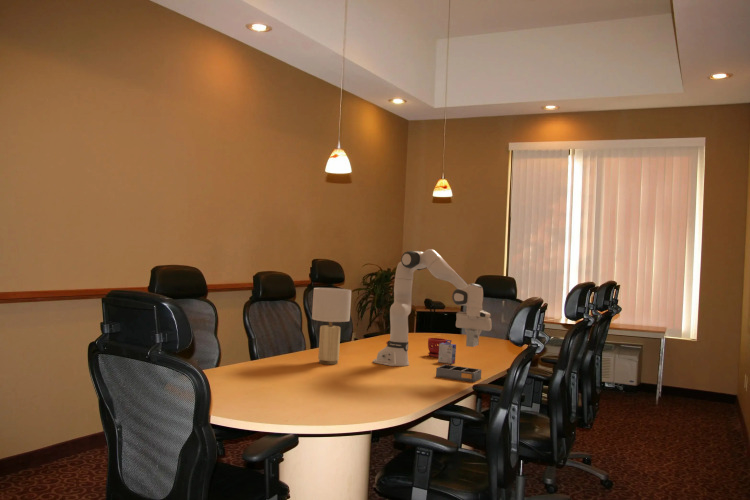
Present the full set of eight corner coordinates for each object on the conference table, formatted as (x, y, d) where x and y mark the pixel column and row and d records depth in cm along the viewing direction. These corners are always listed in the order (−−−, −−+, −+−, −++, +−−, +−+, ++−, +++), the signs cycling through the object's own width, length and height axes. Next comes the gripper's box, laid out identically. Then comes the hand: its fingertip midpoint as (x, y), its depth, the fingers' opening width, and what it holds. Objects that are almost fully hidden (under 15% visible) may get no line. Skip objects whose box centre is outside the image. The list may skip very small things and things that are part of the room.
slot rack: (435, 376, 353) (436, 367, 353) (444, 372, 366) (445, 364, 366) (473, 382, 343) (473, 373, 343) (480, 378, 356) (481, 369, 356)
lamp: (347, 360, 387) (351, 289, 387) (346, 367, 364) (351, 291, 364) (310, 358, 386) (314, 287, 387) (307, 365, 364) (312, 289, 364)
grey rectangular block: (466, 346, 348) (467, 329, 348) (471, 344, 357) (472, 328, 357) (473, 346, 346) (474, 330, 346) (478, 345, 355) (479, 329, 355)
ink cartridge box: (455, 363, 400) (456, 340, 401) (451, 364, 396) (453, 341, 396) (441, 361, 406) (443, 338, 406) (437, 362, 401) (439, 339, 401)
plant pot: (447, 358, 418) (448, 340, 418) (427, 357, 418) (428, 339, 418) (445, 355, 431) (446, 337, 431) (426, 354, 431) (427, 336, 431)
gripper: (454, 311, 353) (453, 335, 353) (490, 314, 344) (488, 339, 344) (458, 310, 359) (457, 334, 359) (493, 314, 350) (491, 338, 350)
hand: (472, 337), depth 351 cm, fingers closed on grey rectangular block, 4 cm apart
